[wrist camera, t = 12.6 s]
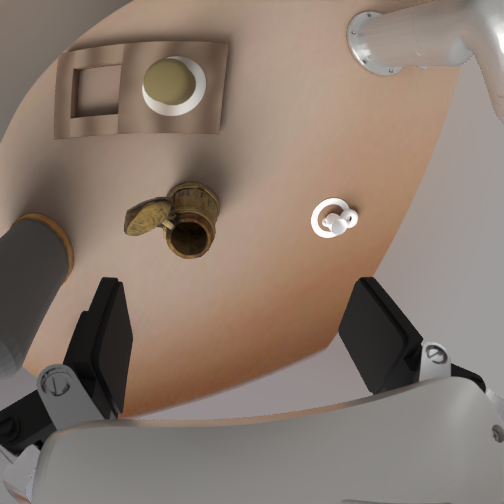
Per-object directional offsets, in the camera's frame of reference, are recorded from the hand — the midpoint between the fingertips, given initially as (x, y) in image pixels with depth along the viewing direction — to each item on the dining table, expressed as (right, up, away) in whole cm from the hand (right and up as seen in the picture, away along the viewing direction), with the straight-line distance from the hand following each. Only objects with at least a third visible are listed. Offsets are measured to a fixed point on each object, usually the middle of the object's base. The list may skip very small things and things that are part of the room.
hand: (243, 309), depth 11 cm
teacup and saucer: (+16, +7, +43) cm, 46 cm away
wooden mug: (-11, +11, +34) cm, 38 cm away
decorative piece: (-40, +2, +33) cm, 52 cm away
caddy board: (-17, +27, +24) cm, 39 cm away
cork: (-10, +25, +23) cm, 36 cm away
